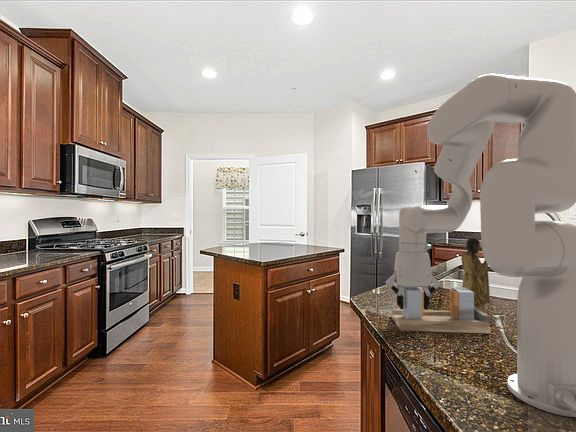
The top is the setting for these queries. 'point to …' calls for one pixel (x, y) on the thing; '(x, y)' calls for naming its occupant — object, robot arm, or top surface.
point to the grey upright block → (413, 303)
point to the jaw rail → (448, 316)
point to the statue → (476, 274)
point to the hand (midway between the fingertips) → (412, 307)
